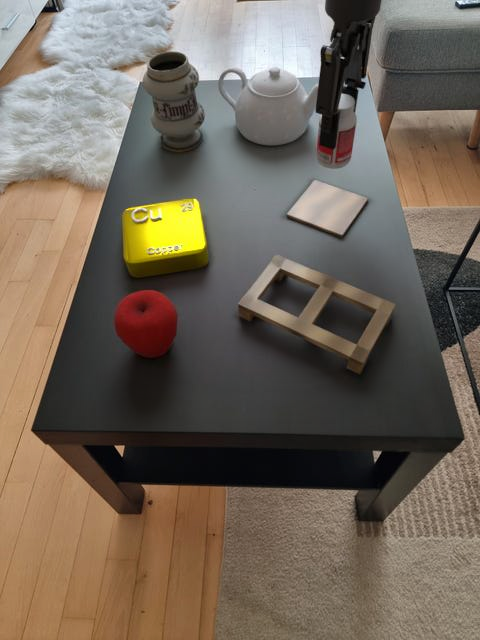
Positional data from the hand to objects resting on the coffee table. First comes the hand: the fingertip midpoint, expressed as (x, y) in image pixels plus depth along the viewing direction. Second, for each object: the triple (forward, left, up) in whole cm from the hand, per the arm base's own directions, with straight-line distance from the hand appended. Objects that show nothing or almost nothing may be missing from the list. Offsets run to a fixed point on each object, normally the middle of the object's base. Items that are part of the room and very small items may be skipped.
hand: (336, 135), depth 82 cm
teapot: (+24, -19, -17) cm, 35 cm away
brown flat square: (0, 0, -16) cm, 16 cm away
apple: (+10, +43, -17) cm, 47 cm away
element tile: (+22, +24, -17) cm, 37 cm away
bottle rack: (-10, +25, -16) cm, 31 cm away
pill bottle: (0, 0, -5) cm, 5 cm away
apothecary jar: (+40, -5, -17) cm, 44 cm away
